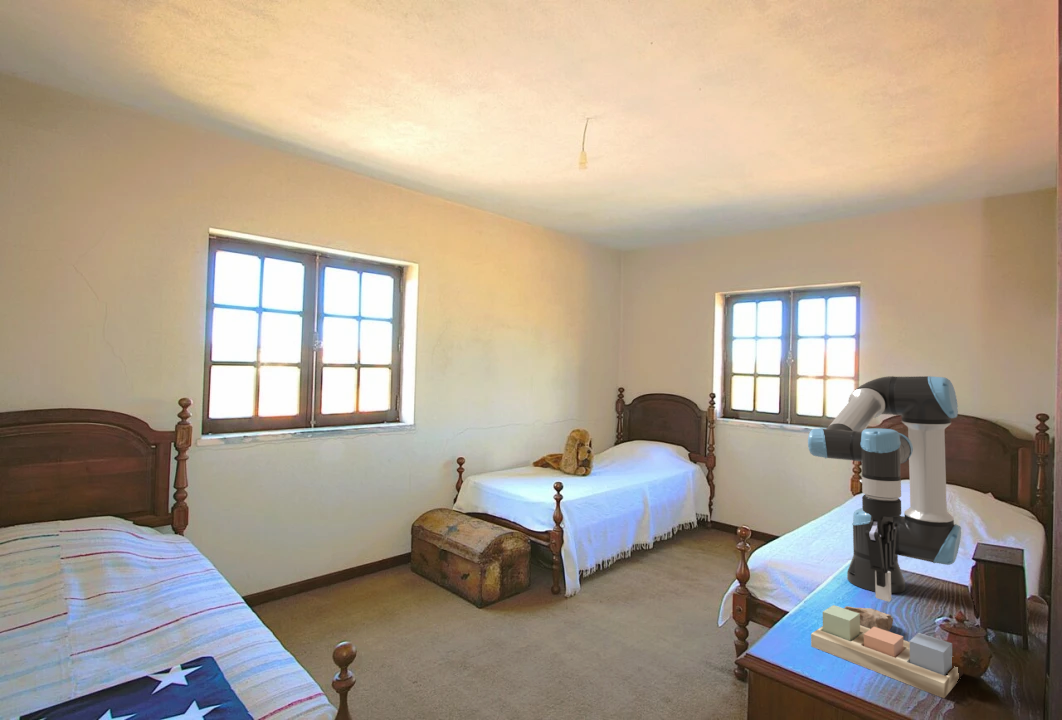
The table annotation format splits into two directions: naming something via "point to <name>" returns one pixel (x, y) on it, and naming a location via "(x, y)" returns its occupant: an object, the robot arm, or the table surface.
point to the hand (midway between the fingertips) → (883, 598)
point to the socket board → (885, 662)
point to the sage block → (841, 622)
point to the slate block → (931, 653)
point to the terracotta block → (884, 641)
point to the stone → (873, 618)
